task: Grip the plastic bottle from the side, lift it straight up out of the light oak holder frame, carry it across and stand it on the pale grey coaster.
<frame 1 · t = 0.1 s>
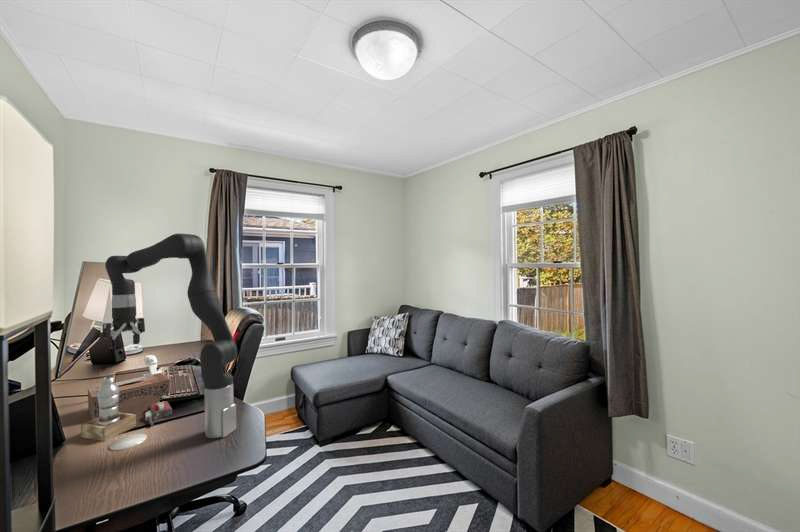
hand: (125, 346, 131), 29 cm above the table, tool pointing down, fingers open, 8 cm apart
tissue box cover: (130, 406, 144), on the table
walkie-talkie: (158, 417, 133), on the table
plastic bottle: (109, 432, 121), resting in oak holder
grey coaster: (128, 442, 114), on the table
oak holder: (109, 431, 121), on the table
voxel character: (152, 386, 167), on the table
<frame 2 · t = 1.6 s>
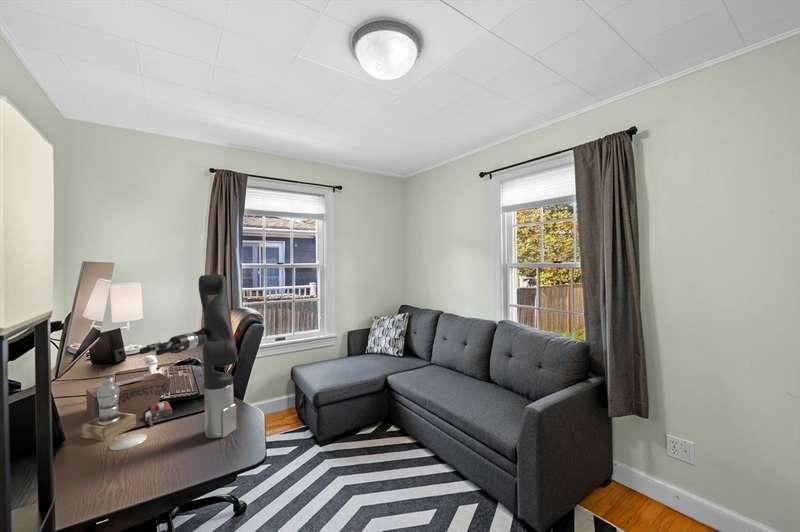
hand: (148, 352, 133), 26 cm above the table, tool horizontal, fingers open, 8 cm apart
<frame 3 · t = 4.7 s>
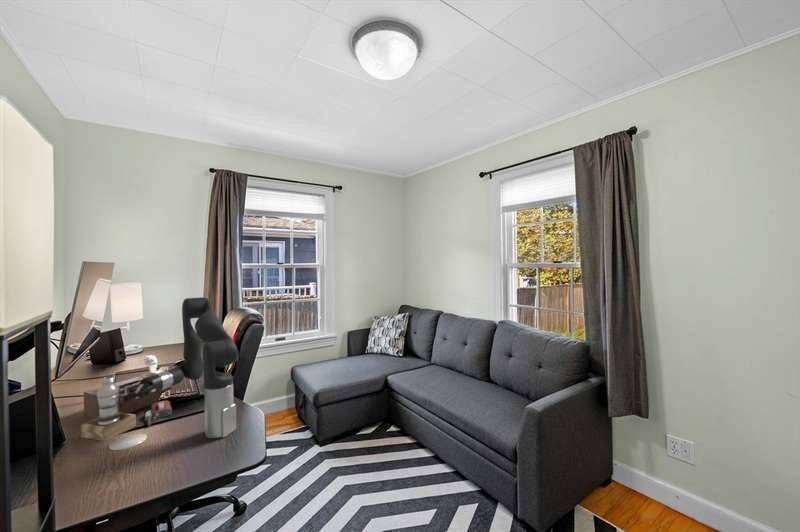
hand: (115, 398, 123), 11 cm above the table, tool horizontal, fingers open, 8 cm apart
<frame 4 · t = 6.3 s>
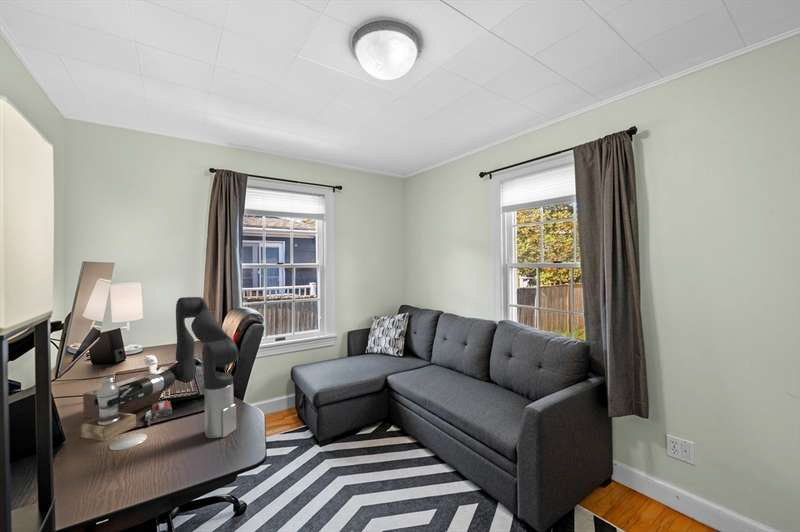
hand: (101, 403, 119), 12 cm above the table, tool horizontal, fingers closed on plastic bottle, 6 cm apart
plastic bottle: (109, 432, 121), resting in oak holder, touching gripper
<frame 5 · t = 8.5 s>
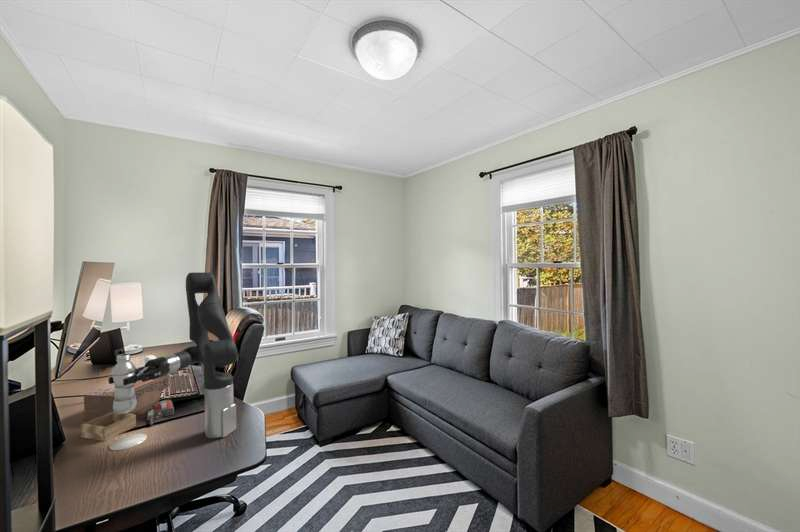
hand: (116, 381, 112), 22 cm above the table, tool horizontal, fingers closed on plastic bottle, 6 cm apart
plastic bottle: (125, 412, 115), point 10 cm above the table, touching gripper
when the fingers open (13 cm above the table, at t = 10.9 s): plastic bottle stays where it is, resting on grey coaster.
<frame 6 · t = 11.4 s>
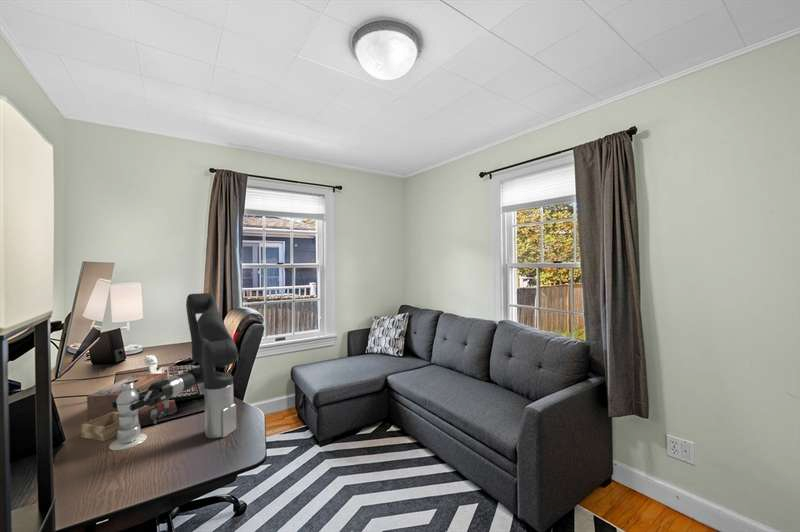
hand: (121, 406, 112), 13 cm above the table, tool horizontal, fingers open, 8 cm apart
plastic bottle: (129, 441, 114), resting on grey coaster
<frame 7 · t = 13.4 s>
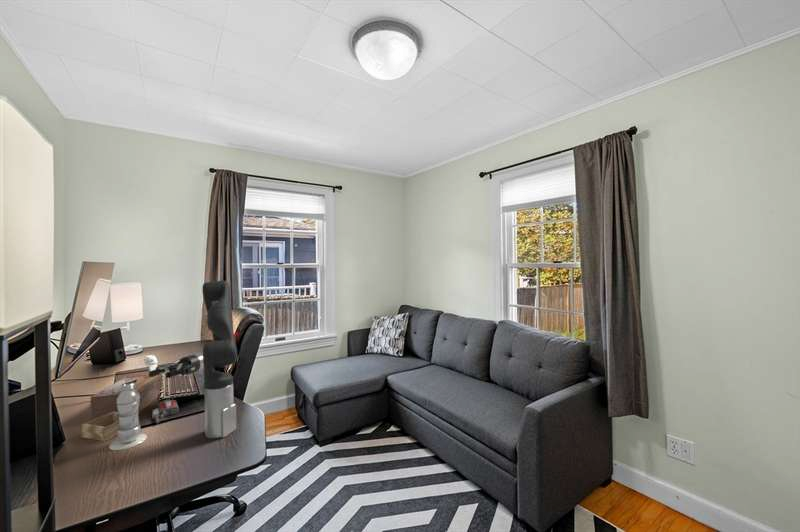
hand: (158, 375, 127), 19 cm above the table, tool horizontal, fingers open, 8 cm apart
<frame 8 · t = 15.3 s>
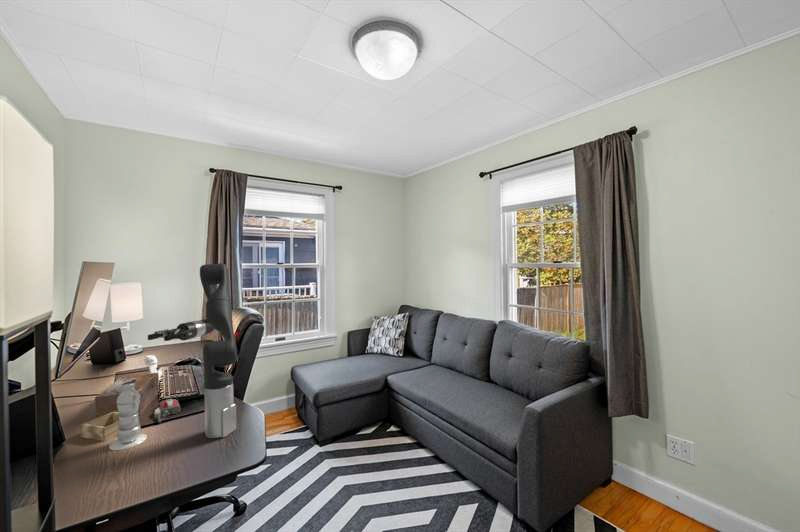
hand: (156, 338, 132), 32 cm above the table, tool horizontal, fingers open, 8 cm apart
at the end: plastic bottle 0.2 cm from the grey coaster (horizontally); plastic bottle tilted 0°; the gripper is holding nothing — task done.
